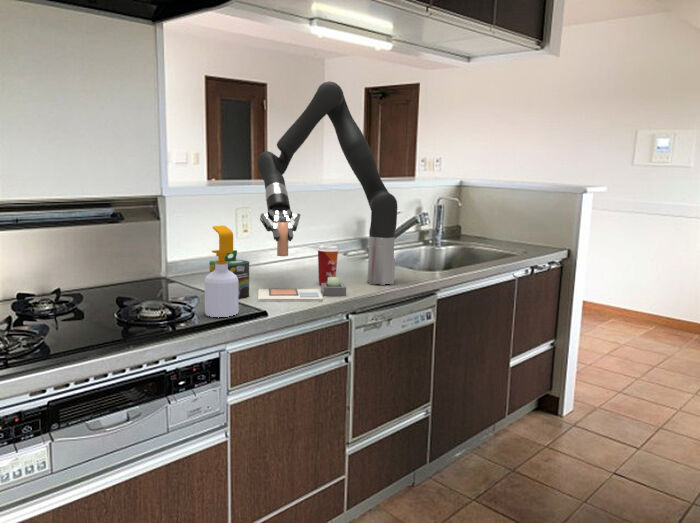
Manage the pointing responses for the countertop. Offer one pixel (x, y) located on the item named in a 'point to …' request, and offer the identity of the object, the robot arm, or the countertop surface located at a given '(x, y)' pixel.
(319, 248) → the paper cup
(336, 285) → the button
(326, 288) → the frame
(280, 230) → the orange bottle with cap
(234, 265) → the chalk box
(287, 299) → the board
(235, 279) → the soap bottle
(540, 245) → the countertop surface
